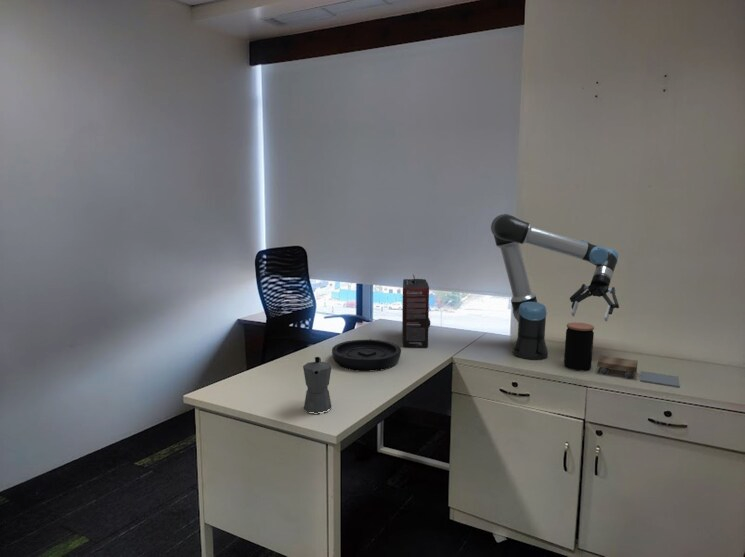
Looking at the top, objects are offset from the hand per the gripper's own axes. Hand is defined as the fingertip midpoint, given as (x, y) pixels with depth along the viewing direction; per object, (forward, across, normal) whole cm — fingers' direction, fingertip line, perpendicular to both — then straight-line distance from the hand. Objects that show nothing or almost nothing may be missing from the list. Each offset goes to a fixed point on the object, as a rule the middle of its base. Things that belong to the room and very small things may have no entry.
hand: (588, 317), depth 213 cm
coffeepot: (+92, +53, +64) cm, 124 cm away
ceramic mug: (+15, +87, -13) cm, 89 cm away
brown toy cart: (+20, -15, -8) cm, 26 cm away
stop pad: (+18, -29, -10) cm, 36 cm away
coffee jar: (+22, 0, -6) cm, 23 cm away
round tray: (+59, +73, +30) cm, 98 cm away
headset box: (+31, +75, +2) cm, 81 cm away
